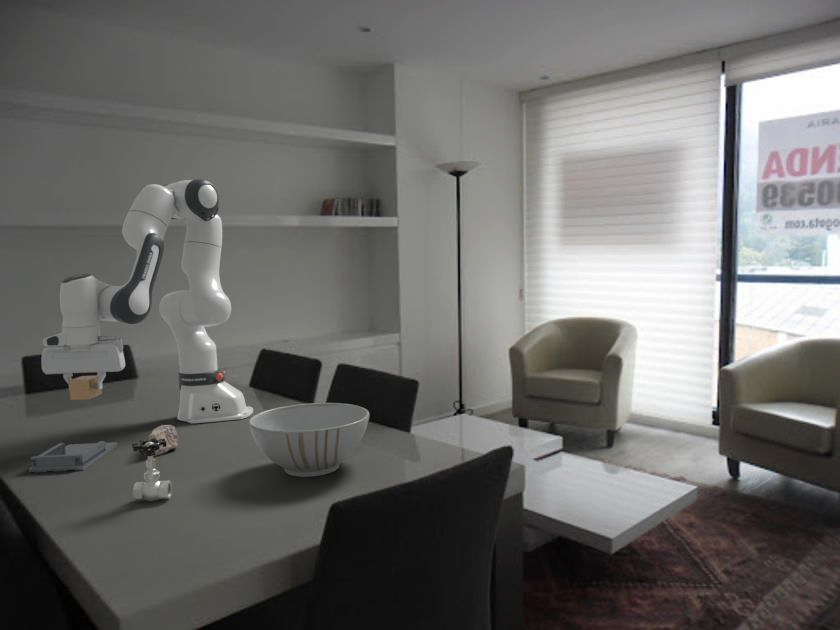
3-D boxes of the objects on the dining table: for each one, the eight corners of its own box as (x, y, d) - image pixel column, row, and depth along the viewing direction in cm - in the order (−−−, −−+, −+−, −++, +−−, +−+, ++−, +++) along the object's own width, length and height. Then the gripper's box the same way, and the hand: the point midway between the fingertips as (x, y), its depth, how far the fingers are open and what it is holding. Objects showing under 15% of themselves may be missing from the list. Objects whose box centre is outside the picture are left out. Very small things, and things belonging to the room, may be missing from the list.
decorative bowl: (318, 496, 133) (315, 437, 132) (225, 476, 148) (222, 423, 147) (394, 459, 156) (392, 408, 155) (307, 445, 170) (304, 398, 169)
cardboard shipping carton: (101, 393, 179) (100, 375, 179) (90, 399, 172) (88, 380, 172) (83, 394, 179) (81, 376, 178) (70, 400, 172) (68, 380, 172)
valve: (141, 495, 137) (137, 438, 136) (174, 493, 138) (171, 436, 137) (130, 507, 131) (126, 447, 130) (165, 505, 131) (161, 445, 130)
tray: (117, 445, 176) (116, 432, 176) (83, 470, 156) (82, 455, 156) (69, 448, 175) (68, 435, 175) (29, 472, 155) (27, 458, 155)
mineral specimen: (177, 456, 165) (175, 431, 165) (146, 459, 163) (144, 434, 163) (180, 442, 177) (178, 419, 177) (151, 445, 175) (149, 422, 175)
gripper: (127, 334, 178) (130, 385, 179) (48, 337, 177) (53, 388, 178) (117, 337, 171) (121, 390, 173) (36, 340, 171) (40, 393, 172)
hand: (85, 389), depth 175 cm, fingers closed on cardboard shipping carton, 5 cm apart
